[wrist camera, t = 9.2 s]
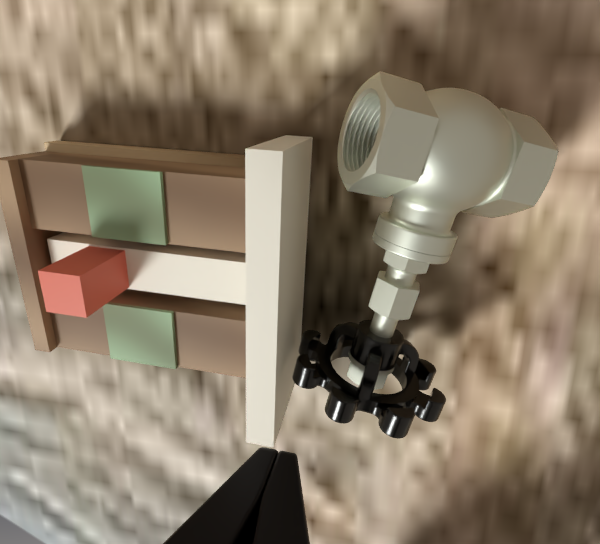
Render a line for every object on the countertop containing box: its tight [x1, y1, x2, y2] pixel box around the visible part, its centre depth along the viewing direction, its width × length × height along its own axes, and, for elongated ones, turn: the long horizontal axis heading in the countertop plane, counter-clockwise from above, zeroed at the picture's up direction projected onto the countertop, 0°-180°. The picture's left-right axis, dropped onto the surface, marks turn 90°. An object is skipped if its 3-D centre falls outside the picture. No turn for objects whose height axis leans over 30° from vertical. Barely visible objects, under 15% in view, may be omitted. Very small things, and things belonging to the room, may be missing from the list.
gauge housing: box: [0, 141, 246, 378], centre depth 20 cm, size 10×11×4 cm
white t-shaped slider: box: [38, 135, 313, 448], centre depth 18 cm, size 12×12×6 cm
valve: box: [292, 71, 558, 438], centre depth 16 cm, size 7×7×12 cm
